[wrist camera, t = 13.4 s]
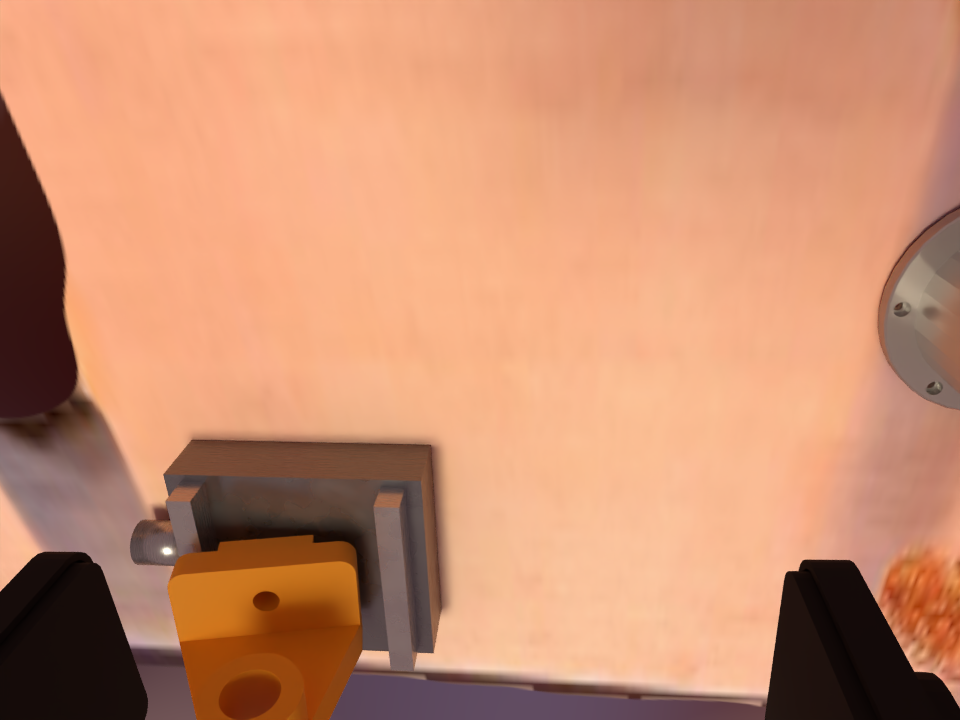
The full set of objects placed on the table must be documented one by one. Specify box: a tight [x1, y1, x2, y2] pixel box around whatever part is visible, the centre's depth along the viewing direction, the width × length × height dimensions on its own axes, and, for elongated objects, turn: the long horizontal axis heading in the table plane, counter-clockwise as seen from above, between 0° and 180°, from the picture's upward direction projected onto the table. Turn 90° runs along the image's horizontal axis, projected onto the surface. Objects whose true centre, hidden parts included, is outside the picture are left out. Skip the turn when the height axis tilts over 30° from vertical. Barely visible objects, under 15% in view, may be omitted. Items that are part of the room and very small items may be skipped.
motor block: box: [130, 440, 441, 671], centre depth 49 cm, size 20×14×6 cm
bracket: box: [168, 535, 363, 720], centre depth 41 cm, size 11×7×12 cm, turn 90°
